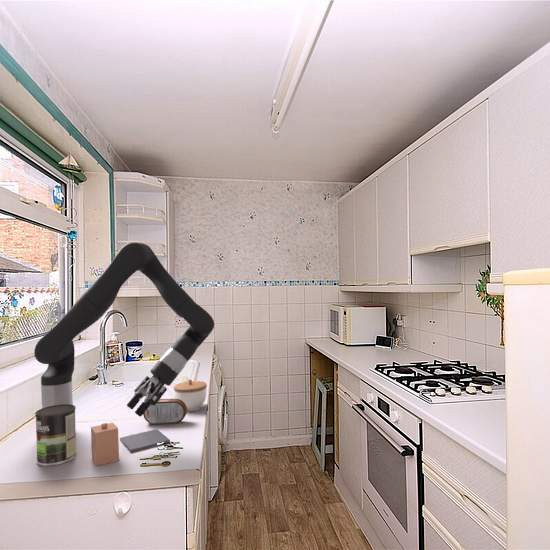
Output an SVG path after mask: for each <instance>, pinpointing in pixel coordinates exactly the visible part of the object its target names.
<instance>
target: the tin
mask: <svg viewBox="0 0 550 550" xmlns="http://www.w3.org/2000/svg"><path fill="white" fill-rule="evenodd" d="M155 400H156V399H155ZM155 400H154V401H155ZM187 413H188V411H187V407H186V404H185V403H184V402H183V401H182V400H180V399H175V398H160V399H159V401H158V402H157V403H156V405H155V406H153V405H152V406H149V407H148V409H147V410H146V411H145V412H144V414H143V415H142V416H143V418H144V420H145V421H146V423H148V424H150V425H169V424H170V425H172V424H173V425H175V423H176V424H179V423H181V422H182V421H183V420H184V419H185V417H186V416H187Z"/></svg>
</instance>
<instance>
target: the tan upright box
mask: <svg viewBox="0 0 550 550" xmlns="http://www.w3.org/2000/svg"><path fill="white" fill-rule="evenodd" d="M90 437H91V441H90V443H91V460H92V461H93V463H94V465H95V466H96V467H98V466H102V465H106V464H110V463H113V462H117V461H120V451H119V450H120V449H119V447H120V446H119V443H120V442H119V441H120V440H119V427H118V426H117V425H116V424H115V422H109V423H107V422H104V423H101V424H99V425H94V426H91V427H90Z"/></svg>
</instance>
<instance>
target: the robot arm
mask: <svg viewBox="0 0 550 550" xmlns="http://www.w3.org/2000/svg"><path fill="white" fill-rule="evenodd" d="M138 271H139V272H140V273H142V274H143V275H145V276H146V277H147V278H148V279H149V280H150V281H151V283H152V284H153V285H154V286H155V288H156V289H157V291H158V293H159V295H160V296H161V298H162V299H163V300H164V302H165V303H166V305H168V306H169V308H170V309H171V310H172V311H173V312H174V313H175V314H176V315H177V316H178V317H179V318H183V319H184V320H185V321H186V323H188V324H189V326H188V328H186V330H185V331H184V333H182V335H181V336H179V337H178V338H177V339H176V340H175V342H174V343H173V344H172V345H171V346H170V348H168V350H167V351H166V352H165V353H164V354H162V356H161V357H160V358H159V360H158V361H157V362H156V363H155V365H154V366H152V368H151V369H150V373H151V374H152V376H151V377H150V376H148V375H147V376H145V377H144V379H143V380H142V381H141V382H140V383H139V384H138V386H136V388H135V389H134V395H133V397H131V399H130V400H129V401H128V402H127V404H126V407H128V409H130V410H134V408H135V407H136V406H137V405H138V403H140V401H141V400H142V399H143V398H144V397H145V398H144V400H143V402H141V404H139V406H138V407H137V408H136V410H135V411H134V414H136V415H137V416H138V417H142V416H143V414H144V412H145V411H146V410H147V409H148V407H149V406H152V405H153V406H155V405H156V403H157V402H158V401H159V399H162V397H163V395H164V394H165V393H166V392H167V391H168V388H167V387H168V386H171V384H173V382H174V381H175V379H177V377H178V376H179V374H180V373H182V371H183V369H184V368H185V367H186V365H187V363H188V362H189V361H190V359H191V358H192V357H193V356H194V354H195V353H196V352H197V349H198V348H199V347H200V346H201V345H202V344H203V343H204V342H205V341H206V339H207V338H208V337H209V335H210V334H211V333H212V331H213V330H214V329H215V321H214V319H213V317H212V316H211V315H210V313H209V312H208V311H207V310H205V308H203V307H202V306H200V305H199V304H198V303H196V301H194V299H193V298H192V297H191V296H190V295H189V294H188V293H187V292H186V290H184V288H183V287H182V286H180V284H179V283H178V282H177V281H176V280H175V279H174V278H173V277H172V275H171V274H170V273H169V272H168V271H167V270H166V268H165V267H164V266H163V264H162V263H161V261H160V259H158V257H157V255H156V253H155V252H154V251H153V250H152V248H151V247H150V246H149V245H147V244H146V243H141V242H133V241H132V242H128V243H126V244H125V245H123V246H122V247H121V248H120V249H119V251H118V252H117V254H116V255H115V256H114V258H113V259H112V260H111V262H110V263H109V265H108V266H107V268H106V269H105V270H104V271H103V272H102V273H101V274H100V275H99V276H98V277H97V278H96V279H95V281H94V282H93V283H92V284H91V285H89V287H88V288H87V289H86V290H85V291H84V293H83V294H81V296H79V298H78V300H76V302H75V303H74V304H73V305H72V306H71V308H70V309H69V310H68V311H67V312H66V313H65V315H63V317H62V318H61V319H60V320H59V321H58V322H57V323H56V324H55V325H54V326H53V327H52V328H51V329H50V330H49V331H47V333H45V334H44V335H43V336H42V337H41V338H40V339H39V340H38V341H37V343H36V344H35V347H34V358H35V359H36V361H37V362H39V363H40V364H43V365H47V368H46V370H45V371H44V373H42V375H41V377H40V385H41V386H40V388H41V389H40V392H41V409H42V408H45V407H49V406H53V405H61V404H70V405H74V401H73V374H74V371H75V353H76V352H75V344H74V341H73V340H74V339H75V338H76V337H77V336H78V335H80V334H81V333H82V332H84V331H86V329H89V328H90V327H91V326H92V325H94V324H95V323H96V322H97V321H98V320H99V319H101V318H102V317H103V316H104V314H106V312H107V311H108V310H109V309H110V308H111V307H112V305H113V304H114V302H115V301H116V298H117V296H118V294H119V291H120V289H121V288H122V286H123V284H125V282H126V281H127V280H129V278H130V277H131V276H132V275H134V273H136V272H138ZM166 386H167V387H166ZM155 399H156V400H155ZM154 400H155V401H154Z"/></svg>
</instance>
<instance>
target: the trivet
mask: <svg viewBox="0 0 550 550" xmlns="http://www.w3.org/2000/svg"><path fill="white" fill-rule="evenodd" d="M119 441H120V442H121V443H122V445H123V446H124V447H125V448H126V449H127V450H128V452H129V453H130V454H131V453H135V452H139V451H142V450H146V449H150V448H153V447H157V446H156V445H157V443H162V442H170V443H171V439H170V438H169V437H167V436H166V435H165V434H163V432H162V431H160V430H159V429H158V428H155V429H151V430H147V431H143V432H139V433H134V434H131V435H130V434H129V435H127V436H122V437H119Z"/></svg>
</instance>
